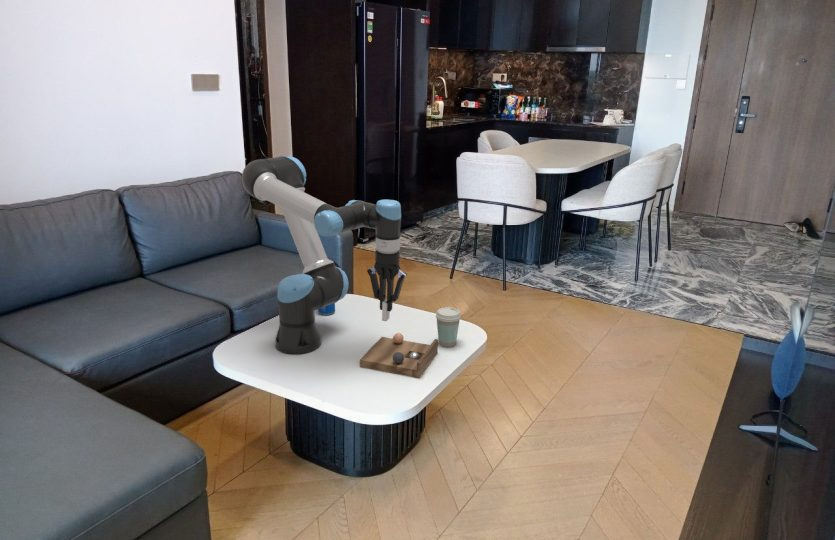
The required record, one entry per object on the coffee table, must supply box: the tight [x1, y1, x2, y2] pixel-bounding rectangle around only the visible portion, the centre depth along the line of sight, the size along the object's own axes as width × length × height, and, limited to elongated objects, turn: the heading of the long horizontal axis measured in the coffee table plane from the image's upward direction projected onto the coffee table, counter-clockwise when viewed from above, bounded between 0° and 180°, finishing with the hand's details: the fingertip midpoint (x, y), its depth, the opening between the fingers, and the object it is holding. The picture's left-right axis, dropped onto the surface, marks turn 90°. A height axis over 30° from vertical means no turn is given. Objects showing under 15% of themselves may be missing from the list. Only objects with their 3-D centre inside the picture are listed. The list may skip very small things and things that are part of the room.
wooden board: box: [359, 336, 439, 379], centre depth 188 cm, size 20×18×5 cm
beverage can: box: [317, 303, 336, 316], centre depth 222 cm, size 6×6×12 cm
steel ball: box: [409, 352, 420, 360], centre depth 187 cm, size 4×4×4 cm
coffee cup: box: [435, 306, 462, 348], centre depth 199 cm, size 8×9×12 cm
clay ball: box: [392, 332, 405, 344], centre depth 194 cm, size 4×4×4 cm
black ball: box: [393, 352, 404, 363], centre depth 181 cm, size 4×4×4 cm
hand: (385, 319), depth 189 cm, fingers closed
